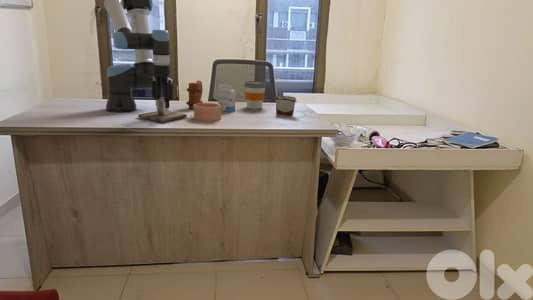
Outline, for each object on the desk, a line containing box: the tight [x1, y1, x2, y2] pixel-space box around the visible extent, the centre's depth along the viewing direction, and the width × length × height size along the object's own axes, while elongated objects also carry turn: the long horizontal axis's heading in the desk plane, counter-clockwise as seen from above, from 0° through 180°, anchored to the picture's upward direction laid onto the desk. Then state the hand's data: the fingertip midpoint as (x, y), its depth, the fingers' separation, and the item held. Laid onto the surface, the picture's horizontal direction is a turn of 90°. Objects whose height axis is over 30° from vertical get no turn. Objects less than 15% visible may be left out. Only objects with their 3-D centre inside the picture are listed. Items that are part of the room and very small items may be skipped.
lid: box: [137, 98, 188, 122], centre depth 185 cm, size 16×16×8 cm
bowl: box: [193, 102, 222, 122], centre depth 190 cm, size 13×13×7 cm
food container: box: [274, 95, 297, 117], centre depth 209 cm, size 12×6×10 cm, turn 65°
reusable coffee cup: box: [243, 80, 267, 110], centre depth 226 cm, size 12×13×15 cm
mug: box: [186, 80, 204, 110], centre depth 216 cm, size 15×8×15 cm, turn 168°
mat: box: [133, 116, 191, 126], centre depth 186 cm, size 19×19×1 cm
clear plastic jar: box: [217, 83, 236, 113], centre depth 213 cm, size 9×5×15 cm, turn 68°
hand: (162, 113), depth 186 cm, fingers closed on lid, 4 cm apart
